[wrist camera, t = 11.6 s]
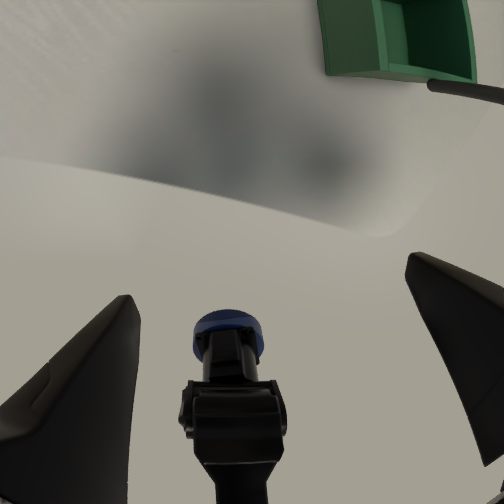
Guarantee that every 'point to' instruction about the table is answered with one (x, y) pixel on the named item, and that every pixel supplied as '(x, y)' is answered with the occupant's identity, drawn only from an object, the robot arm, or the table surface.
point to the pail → (404, 44)
